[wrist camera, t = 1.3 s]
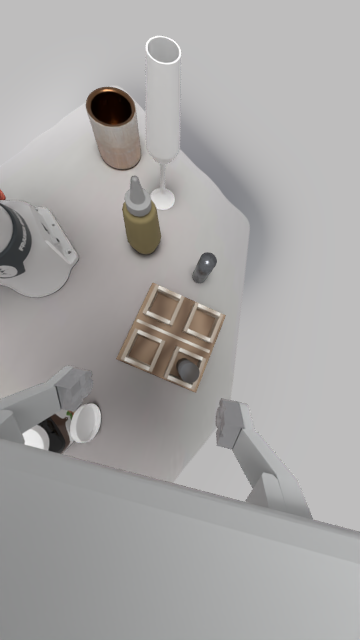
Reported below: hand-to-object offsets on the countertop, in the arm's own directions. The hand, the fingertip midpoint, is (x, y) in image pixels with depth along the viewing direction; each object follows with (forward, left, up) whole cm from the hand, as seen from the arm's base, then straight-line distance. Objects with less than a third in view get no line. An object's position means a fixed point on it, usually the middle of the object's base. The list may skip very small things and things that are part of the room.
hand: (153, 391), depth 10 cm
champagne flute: (-39, +16, -31) cm, 52 cm away
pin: (-15, +17, -31) cm, 38 cm away
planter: (-55, +10, -31) cm, 64 cm away
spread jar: (+5, -22, -31) cm, 39 cm away
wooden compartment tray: (-3, +5, -31) cm, 32 cm away
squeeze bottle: (-28, +7, -31) cm, 42 cm away
